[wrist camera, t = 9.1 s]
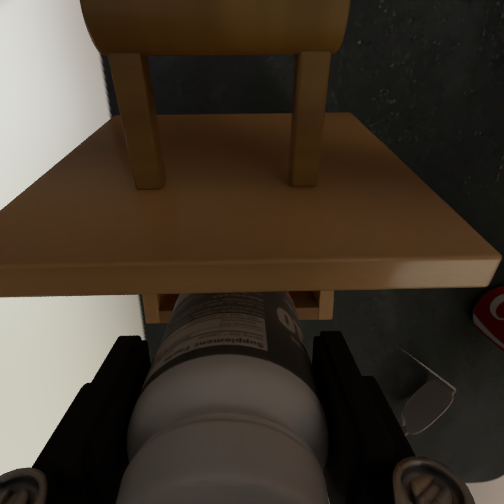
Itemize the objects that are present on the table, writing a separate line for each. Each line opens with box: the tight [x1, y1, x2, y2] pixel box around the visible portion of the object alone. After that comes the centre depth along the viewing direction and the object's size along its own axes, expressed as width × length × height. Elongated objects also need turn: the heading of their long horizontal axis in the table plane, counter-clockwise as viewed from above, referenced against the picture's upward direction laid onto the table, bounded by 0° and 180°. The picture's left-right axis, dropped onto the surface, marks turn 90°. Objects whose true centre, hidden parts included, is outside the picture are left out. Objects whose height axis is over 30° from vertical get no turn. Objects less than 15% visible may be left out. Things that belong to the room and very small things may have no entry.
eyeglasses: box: [384, 335, 456, 436], centre depth 34 cm, size 14×8×4 cm, turn 144°
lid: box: [0, 0, 502, 297], centre depth 10 cm, size 11×11×5 cm
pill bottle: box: [116, 291, 329, 504], centre depth 10 cm, size 5×5×8 cm
